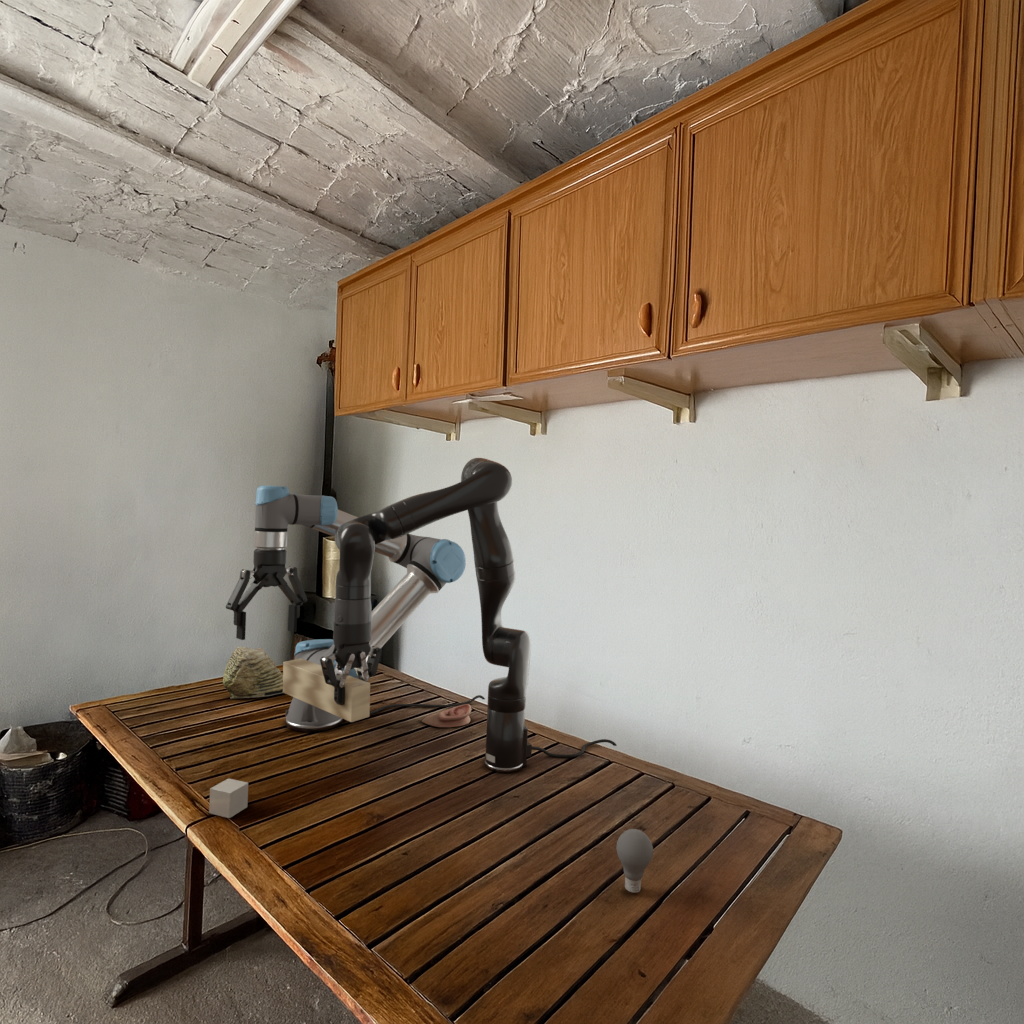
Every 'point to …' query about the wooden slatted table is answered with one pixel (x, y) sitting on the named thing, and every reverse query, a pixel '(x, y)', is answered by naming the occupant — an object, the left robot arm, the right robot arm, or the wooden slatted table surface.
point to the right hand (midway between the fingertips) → (350, 700)
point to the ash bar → (325, 690)
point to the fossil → (252, 674)
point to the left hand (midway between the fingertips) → (267, 635)
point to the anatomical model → (450, 717)
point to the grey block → (228, 798)
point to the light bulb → (634, 857)
